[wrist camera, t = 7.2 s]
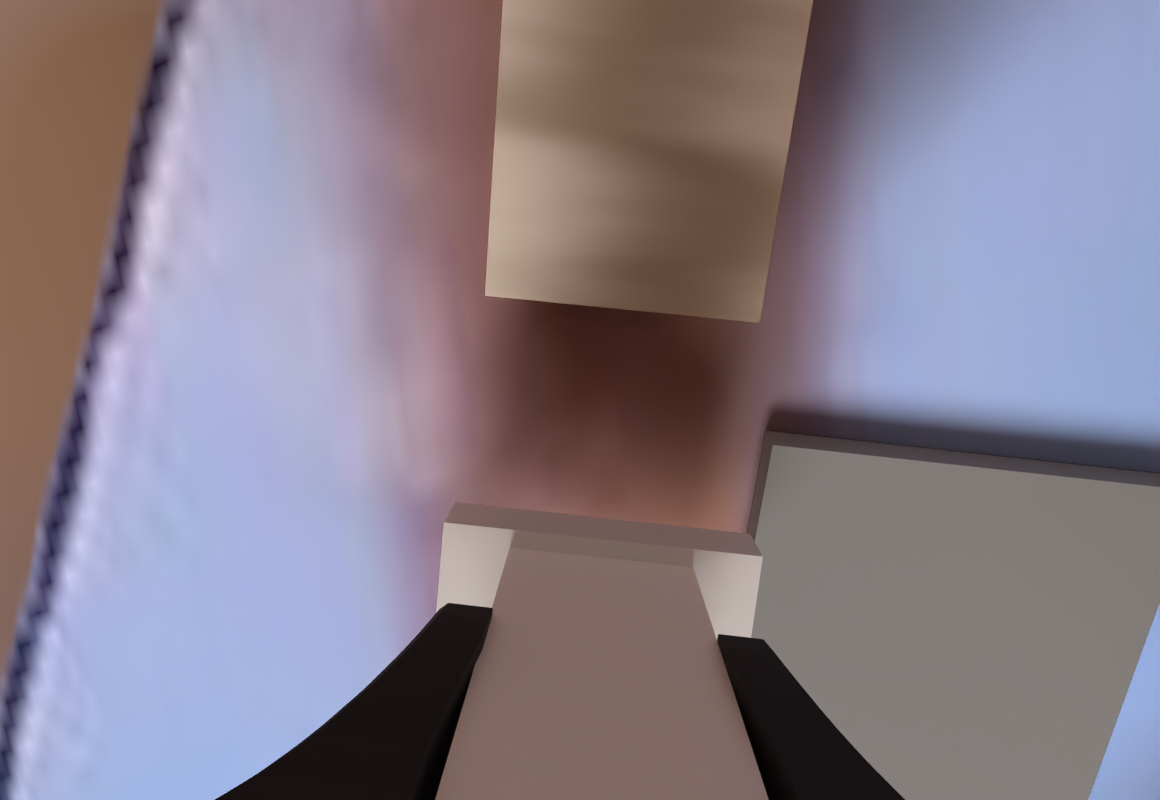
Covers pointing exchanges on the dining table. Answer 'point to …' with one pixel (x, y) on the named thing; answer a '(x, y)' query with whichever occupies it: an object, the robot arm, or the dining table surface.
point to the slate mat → (958, 607)
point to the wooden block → (642, 151)
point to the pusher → (599, 658)
